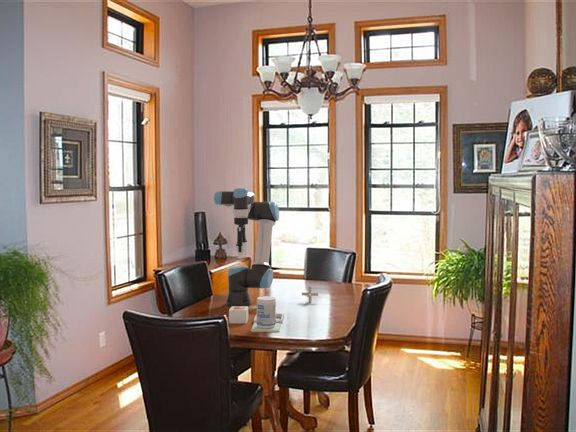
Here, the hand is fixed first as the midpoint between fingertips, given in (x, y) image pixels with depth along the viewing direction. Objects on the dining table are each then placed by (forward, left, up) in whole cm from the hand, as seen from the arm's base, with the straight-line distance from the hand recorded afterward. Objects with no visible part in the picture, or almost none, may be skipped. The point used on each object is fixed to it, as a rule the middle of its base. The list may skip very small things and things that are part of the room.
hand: (241, 256), depth 309 cm
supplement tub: (+21, +15, -33) cm, 42 cm away
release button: (+7, -1, -31) cm, 32 cm away
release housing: (+7, -1, -34) cm, 35 cm away
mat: (+21, +15, -34) cm, 43 cm away
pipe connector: (-40, +36, -34) cm, 64 cm away
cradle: (+5, +15, -34) cm, 37 cm away
